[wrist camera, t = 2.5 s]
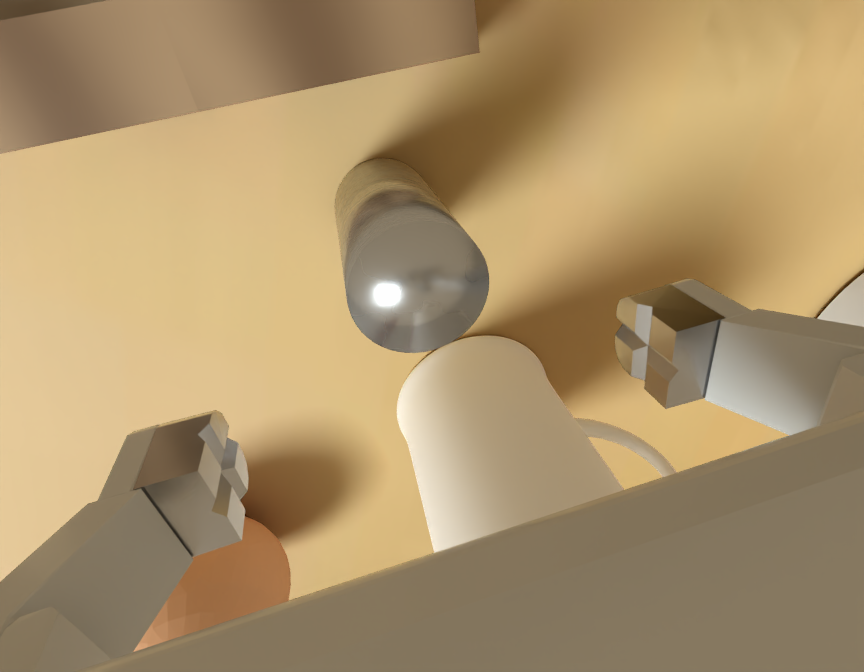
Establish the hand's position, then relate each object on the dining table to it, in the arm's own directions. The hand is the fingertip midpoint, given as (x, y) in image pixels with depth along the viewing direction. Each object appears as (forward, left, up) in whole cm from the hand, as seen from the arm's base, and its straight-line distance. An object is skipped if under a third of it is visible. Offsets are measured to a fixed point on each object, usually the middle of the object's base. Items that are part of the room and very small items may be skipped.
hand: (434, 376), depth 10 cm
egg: (+13, +16, -12) cm, 24 cm away
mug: (-4, +12, -12) cm, 18 cm away
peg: (0, 0, -12) cm, 12 cm away
